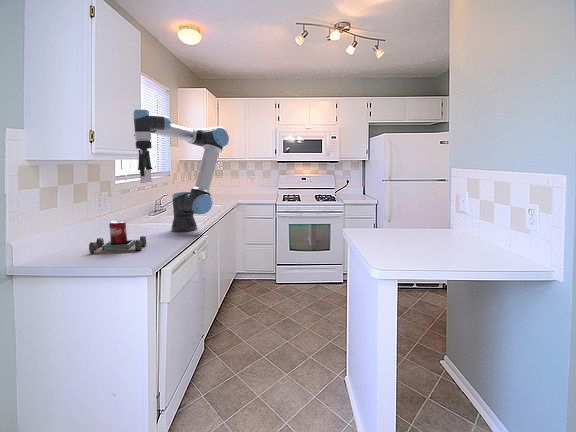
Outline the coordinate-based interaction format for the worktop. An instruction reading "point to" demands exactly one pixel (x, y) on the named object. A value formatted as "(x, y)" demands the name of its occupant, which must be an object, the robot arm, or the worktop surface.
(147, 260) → the worktop surface
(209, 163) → the robot arm
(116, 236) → the soda can
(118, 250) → the chassis
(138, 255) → the worktop surface
